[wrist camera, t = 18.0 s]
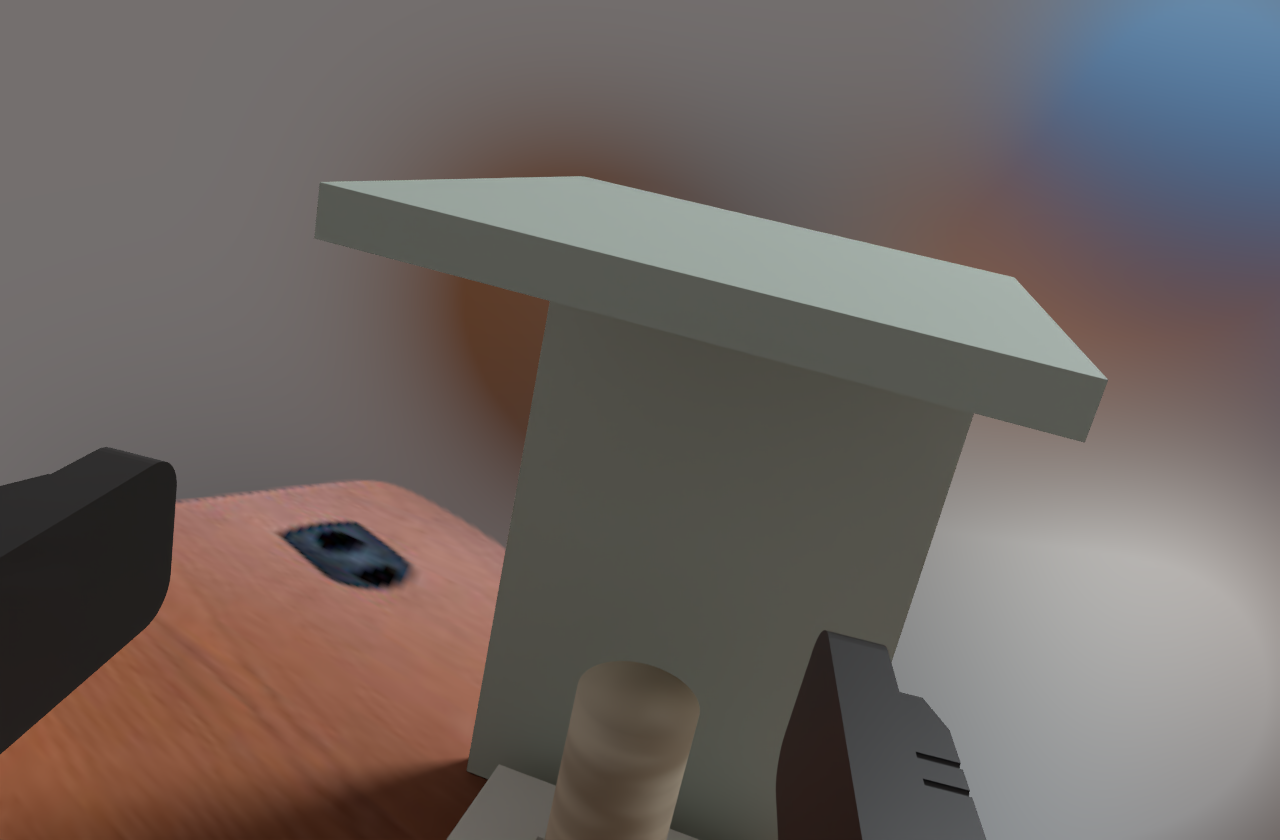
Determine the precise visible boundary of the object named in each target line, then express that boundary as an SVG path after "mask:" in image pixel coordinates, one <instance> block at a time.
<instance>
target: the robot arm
mask: <svg viewBox="0 0 1280 840" xmlns="http://www.w3.org/2000/svg"><path fill="white" fill-rule="evenodd" d="M176 487H177V481H176V474H175V470H174V469H173V467H172V466H171V464H169V463H168V462H164V461H161V460H157V459H153V458H149V457H145V456H141V455H137V454H133V453H129V452H125V451H121V450H117V449H113V448H108V447H105V448H100V449H98V450H96V451H94V452H92V453H90V454H88V455H86V456H85V457H83V458H81V459H79V460H77V461H75V462H73V463H71V464H69V465H67V466H66V467H64V468H62V469H60V470H58V471H56V472H54V473H52V474H47V475H43V476H39V477H35V478H31V479H27V480H23V481H19V482H15V483H11V484H7V485H3V486H0V754H1V753H2V752H3V751H5V750H6V749H7V748H8V747H9V746H10V745H11V744H13V743H14V742H15V741H16V740H17V739H18V738H20V737H21V736H22V735H23V734H24V733H25V732H26V731H28V730H29V729H30V728H31V727H32V726H33V725H34V724H36V723H37V722H38V721H39V720H40V719H41V718H43V717H44V716H45V715H46V714H47V713H48V712H49V711H51V710H52V709H53V708H54V707H55V706H56V705H57V704H59V703H60V702H61V701H62V700H63V699H64V698H65V697H67V696H68V695H69V694H70V693H71V692H72V691H74V690H75V689H76V688H77V687H78V686H79V685H80V684H82V683H83V682H84V681H85V680H86V679H87V678H88V677H90V676H91V675H92V674H93V673H94V672H95V671H97V670H98V669H99V668H100V667H101V666H102V665H103V664H105V663H106V662H107V661H108V660H109V659H110V658H111V657H113V656H114V655H115V654H116V653H117V652H118V651H120V650H121V649H122V648H123V647H124V646H125V645H126V644H128V643H129V642H130V641H131V640H132V639H133V638H134V637H136V636H137V635H138V634H139V633H140V632H141V631H142V630H144V629H145V628H146V627H147V626H148V625H149V624H150V622H151V621H152V620H153V619H154V617H155V616H156V614H157V613H158V611H159V609H160V607H161V605H162V603H163V601H164V598H165V596H166V593H167V590H168V586H169V582H170V575H171V561H172V546H173V531H174V517H175V502H176ZM969 791H970V790H969V787H968V784H967V781H966V778H965V775H964V772H963V770H962V769H960V760H959V757H958V754H957V751H956V748H955V745H954V742H953V739H952V736H951V733H950V730H949V729H948V728H947V727H946V725H945V724H944V723H943V722H942V721H941V719H940V718H939V717H938V716H937V715H936V714H935V712H934V711H933V710H932V709H931V708H930V706H929V705H928V704H927V703H926V702H925V700H924V699H923V698H921V697H917V696H913V695H909V694H905V693H901V692H899V689H898V685H897V682H896V678H895V675H894V671H893V667H892V663H891V660H890V656H889V652H888V650H887V647H886V646H885V645H882V644H878V643H874V642H870V641H866V640H862V639H858V638H854V637H851V636H847V635H843V634H839V633H835V632H831V631H827V630H823V631H822V632H821V633H820V635H819V636H818V638H817V640H816V643H815V645H814V648H813V651H812V654H811V657H810V660H809V663H808V666H807V669H806V672H805V675H804V678H803V681H802V684H801V687H800V690H799V693H798V696H797V699H796V702H795V705H794V708H793V711H792V714H791V717H790V720H789V723H788V726H787V729H786V732H785V735H784V738H783V742H782V746H781V750H780V755H779V760H778V767H777V774H776V809H777V828H778V840H986V837H985V834H984V832H983V829H982V825H981V822H980V819H979V817H978V814H977V811H976V808H975V805H974V802H973V799H972V797H969Z"/></svg>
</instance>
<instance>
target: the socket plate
mask: <svg viewBox="0 0 1280 840" xmlns="http://www.w3.org/2000/svg"><path fill="white" fill-rule="evenodd" d="M555 788H556V786H555V785H553V784H550V783H547V782H545V781H542V780H539V779H537V778H534V777H532V776H529V775H526V774H524V773H521V772H518V771H516V770H513V769H510V768H508V767H505V766H502V765H500V764H499V765H498V766H497V768H496V769H495V771H494V772H493V774H492V775H491V776H490V778H489V779H488V781H487V782H486V784H485V785H484V786H483V788H482V789H481V791H480V792H479V794H478V795H477V796H476V798H475V799H474V801H473V802H472V804H471V805H470V807H469V808H468V809H467V811H466V812H465V814H464V815H463V817H462V818H461V819H460V821H459V822H458V824H457V825H456V827H455V828H454V829H453V831H452V832H451V834H450V835H449V837H448V838H447V839H446V840H545V835H546V830H547V826H548V821H549V816H550V812H551V807H552V802H553V798H554V793H555ZM667 840H699V839H696V838H693V837H691V836H688V835H685V834H683V833H680V832H677V831H675V830H672V829H669V832H668V836H667Z"/></svg>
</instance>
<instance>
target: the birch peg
mask: <svg viewBox="0 0 1280 840" xmlns="http://www.w3.org/2000/svg"><path fill="white" fill-rule="evenodd" d="M699 714H700V707H699V702H698V700H697V698H696V696H695V694H694V693H693V692H692V690H691V689H690V688H689V687H688V686H687V685H686V684H685V683H684V682H682V681H681V680H680V679H678V678H677V677H676V676H674V675H672V674H670V673H669V672H666V671H664V670H662V669H660V668H657V667H654V666H651V665H648V664H643V663H638V662H631V661H613V662H606V663H602V664H599V665H596V666H594V667H592V668H590V669H588V670H587V671H586V672H585V673H584V674H583V675H582V676H581V678H580V679H579V682H578V685H577V690H576V695H575V699H574V704H573V709H572V713H571V718H570V723H569V727H568V732H567V737H566V742H565V746H564V751H563V756H562V760H561V765H560V770H559V774H558V779H557V784H556V788H555V793H554V798H553V802H552V807H551V812H550V816H549V821H548V826H547V830H546V835H545V840H667V836H668V832H669V828H670V824H671V821H672V817H673V813H674V809H675V805H676V802H677V798H678V794H679V790H680V786H681V783H682V779H683V775H684V771H685V767H686V764H687V760H688V756H689V752H690V748H691V745H692V741H693V737H694V733H695V729H696V726H697V722H698V718H699Z"/></svg>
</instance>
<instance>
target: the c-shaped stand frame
mask: <svg viewBox="0 0 1280 840" xmlns="http://www.w3.org/2000/svg"><path fill="white" fill-rule="evenodd" d="M315 238H316V239H319V240H323V241H327V242H330V243H334V244H338V245H342V246H346V247H349V248H353V249H357V250H361V251H364V252H368V253H372V254H376V255H380V256H383V257H387V258H391V259H395V260H398V261H402V262H406V263H410V264H414V265H417V266H421V267H425V268H429V269H432V270H436V271H440V272H443V273H447V274H451V275H455V276H459V277H463V278H466V279H470V280H474V281H477V282H481V283H485V284H489V285H493V286H496V287H500V288H504V289H508V290H511V291H516V292H519V293H523V294H527V295H530V296H534V297H538V298H542V299H545V300H549V301H550V304H549V309H548V315H547V321H546V326H545V332H544V338H543V343H542V349H541V354H540V360H539V366H538V371H537V377H536V383H535V388H534V394H533V399H532V405H531V411H530V417H529V422H528V428H527V433H526V439H525V444H524V450H523V456H522V461H521V467H520V473H519V478H518V484H517V489H516V495H515V501H514V506H513V512H512V518H511V523H510V529H509V535H508V541H507V546H506V551H505V557H504V563H503V568H502V574H501V580H500V585H499V591H498V596H497V602H496V608H495V613H494V619H493V625H492V630H491V636H490V641H489V647H488V653H487V658H486V664H485V670H484V675H483V681H482V687H481V692H480V698H479V703H478V709H477V715H476V720H475V726H474V732H473V737H472V743H471V748H470V754H469V760H468V765H467V771H468V772H470V773H473V774H476V775H478V776H481V777H484V778H486V779H489V778H490V776H491V775H492V774H493V772H494V771H495V769H496V768H497V766H498V765H499V764H500V765H502V766H505V767H508V768H510V769H513V770H516V771H518V772H521V773H524V774H526V775H529V776H532V777H534V778H537V779H539V780H542V781H545V782H547V783H550V784H553V785H555V786H556V784H557V779H558V774H559V770H560V765H561V760H562V756H563V751H564V746H565V742H566V737H567V732H568V727H569V723H570V718H571V713H572V709H573V704H574V699H575V695H576V690H577V685H578V682H579V679H580V678H581V676H582V675H583V674H584V673H585V672H586V671H587V670H588V669H590V668H592V667H594V666H596V665H599V664H602V663H606V662H613V661H631V662H638V663H643V664H648V665H651V666H654V667H657V668H660V669H662V670H664V671H666V672H669V673H670V674H672V675H674V676H676V677H677V678H678V679H680V680H681V681H682V682H684V683H685V684H686V685H687V686H688V687H689V688H690V689H691V690H692V692H693V693H694V694H695V696H696V698H697V700H698V702H699V707H700V714H699V718H698V722H697V726H696V729H695V733H694V737H693V741H692V745H691V748H690V752H689V756H688V760H687V764H686V767H685V771H684V775H683V779H682V783H681V786H680V790H679V794H678V798H677V802H676V805H675V809H674V813H673V817H672V821H671V824H670V828H669V829H672V830H675V831H677V832H680V833H683V834H685V835H688V836H691V837H693V838H696V839H699V840H778V828H777V809H776V774H777V767H778V760H779V755H780V750H781V746H782V742H783V738H784V735H785V732H786V729H787V726H788V723H789V720H790V717H791V714H792V711H793V708H794V705H795V702H796V699H797V696H798V693H799V690H800V687H801V684H802V681H803V678H804V675H805V672H806V669H807V666H808V663H809V660H810V657H811V654H812V651H813V648H814V645H815V643H816V640H817V638H818V636H819V635H820V633H821V632H822V631H823V630H827V631H831V632H835V633H839V634H843V635H847V636H851V637H854V638H858V639H862V640H866V641H870V642H874V643H878V644H882V645H885V646H886V647H887V650H888V652H889V656H890V660H891V662H892V659H893V655H894V653H895V650H896V647H897V644H898V641H899V638H900V635H901V632H902V629H903V625H904V622H905V619H906V617H907V614H908V610H909V608H910V604H911V602H912V598H913V595H914V593H915V590H916V587H917V584H918V581H919V578H920V574H921V571H922V568H923V565H924V562H925V559H926V556H927V553H928V550H929V547H930V544H931V541H932V538H933V535H934V532H935V529H936V526H937V523H938V520H939V517H940V514H941V511H942V508H943V505H944V502H945V499H946V496H947V493H948V490H949V487H950V484H951V481H952V478H953V475H954V472H955V469H956V466H957V463H958V460H959V457H960V454H961V451H962V448H963V445H964V442H965V439H966V436H967V433H968V430H969V427H970V424H971V421H972V417H973V415H974V413H975V414H979V415H983V416H987V417H991V418H994V419H998V420H1002V421H1006V422H1010V423H1013V424H1017V425H1021V426H1025V427H1028V428H1032V429H1036V430H1039V431H1043V432H1047V433H1051V434H1055V435H1058V436H1062V437H1066V438H1070V439H1074V440H1077V441H1081V442H1085V440H1086V438H1087V435H1088V432H1089V430H1090V427H1091V424H1092V422H1093V419H1094V416H1095V413H1096V411H1097V408H1098V406H1099V403H1100V400H1101V398H1102V395H1103V392H1104V390H1105V387H1106V384H1107V382H1108V379H1107V378H1106V377H1105V376H1104V375H1103V374H1102V373H1101V372H1100V371H1099V370H1098V368H1097V367H1096V366H1095V365H1094V364H1093V363H1092V362H1091V361H1090V360H1089V359H1088V358H1087V356H1086V355H1085V354H1084V353H1083V352H1082V351H1081V350H1080V349H1079V348H1078V347H1077V346H1076V344H1074V342H1073V341H1072V340H1071V339H1070V338H1069V337H1068V336H1067V335H1066V334H1065V333H1064V331H1063V330H1062V329H1061V328H1060V327H1059V326H1058V325H1057V324H1056V323H1055V321H1053V319H1052V318H1051V317H1050V316H1049V315H1048V314H1047V313H1046V312H1045V311H1044V310H1043V308H1042V307H1040V305H1039V304H1038V303H1037V302H1036V301H1035V300H1034V299H1033V298H1032V296H1031V295H1030V294H1029V293H1028V292H1027V291H1026V290H1025V289H1024V288H1023V287H1022V286H1021V284H1019V282H1018V281H1017V280H1016V279H1015V278H1014V277H1010V276H1005V275H1001V274H997V273H993V272H988V271H984V270H980V269H976V268H971V267H967V266H963V265H959V264H954V263H950V262H946V261H941V260H937V259H933V258H929V257H925V256H920V255H915V254H911V253H907V252H903V251H899V250H895V249H890V248H886V247H882V246H877V245H873V244H869V243H865V242H861V241H856V240H852V239H848V238H843V237H839V236H835V235H831V234H826V233H822V232H818V231H813V230H809V229H805V228H801V227H796V226H792V225H788V224H784V223H779V222H775V221H771V220H767V219H762V218H758V217H754V216H749V215H745V214H741V213H737V212H732V211H728V210H724V209H720V208H716V207H711V206H707V205H703V204H698V203H694V202H690V201H686V200H681V199H676V198H672V197H669V196H664V195H660V194H655V193H652V192H647V191H643V190H639V189H634V188H630V187H626V186H622V185H617V184H613V183H609V182H604V181H600V180H596V179H592V178H588V177H583V176H579V177H578V176H577V177H531V178H487V179H441V180H397V181H396V180H395V181H349V182H320V186H319V196H318V207H317V217H316V228H315Z"/></svg>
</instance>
